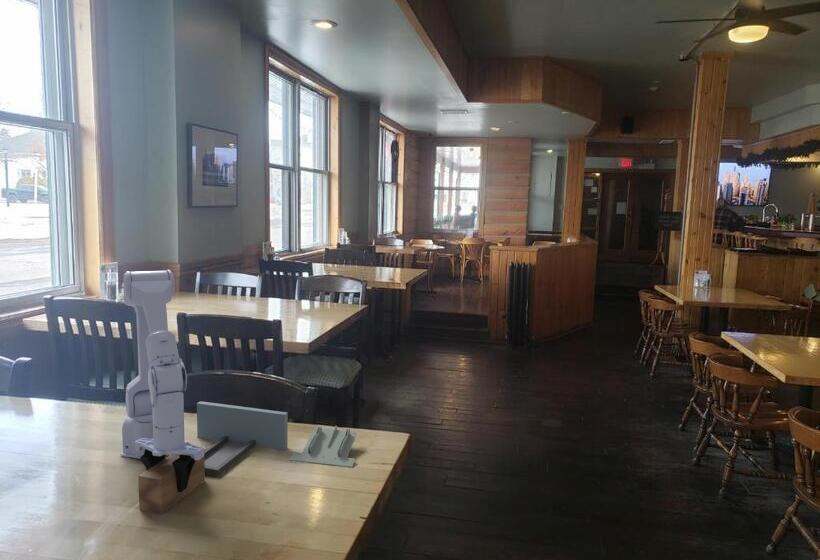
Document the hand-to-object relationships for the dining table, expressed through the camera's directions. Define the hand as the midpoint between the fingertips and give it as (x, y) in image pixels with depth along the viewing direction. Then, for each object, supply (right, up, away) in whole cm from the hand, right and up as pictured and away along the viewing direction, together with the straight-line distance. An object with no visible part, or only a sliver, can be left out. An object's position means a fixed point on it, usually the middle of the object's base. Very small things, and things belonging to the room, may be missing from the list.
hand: (170, 487), depth 116 cm
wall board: (+5, 0, +19) cm, 19 cm away
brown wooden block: (0, -2, +1) cm, 2 cm away
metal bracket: (+29, 0, +23) cm, 37 cm away
